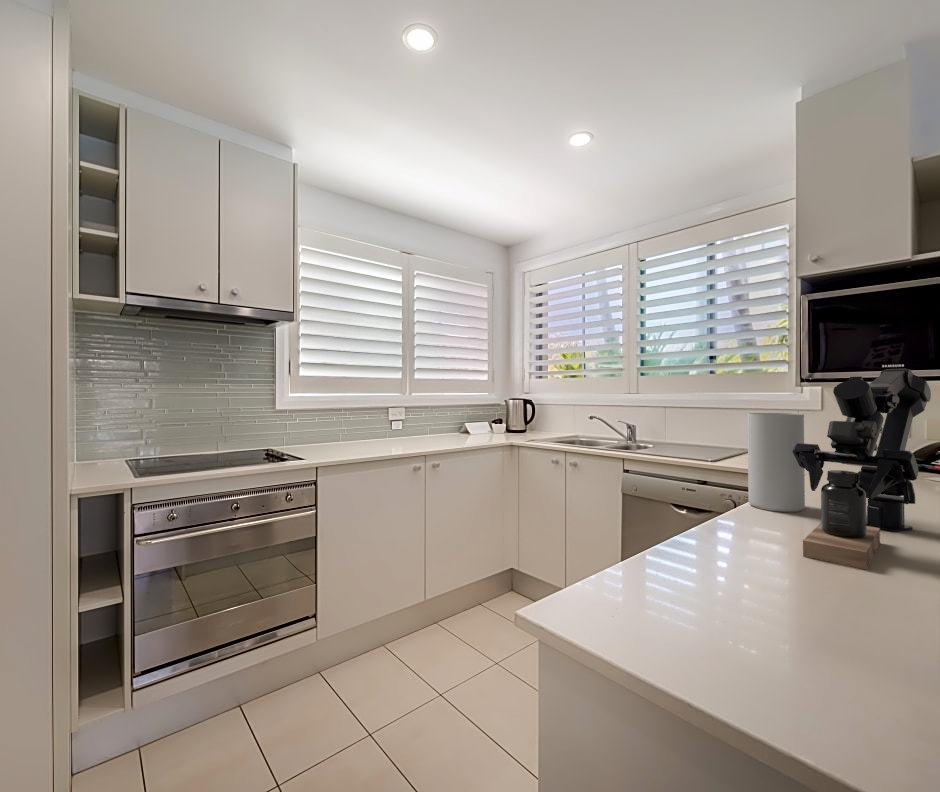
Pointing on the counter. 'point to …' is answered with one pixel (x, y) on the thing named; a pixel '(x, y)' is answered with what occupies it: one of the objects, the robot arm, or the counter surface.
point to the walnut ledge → (842, 547)
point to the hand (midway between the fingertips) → (839, 493)
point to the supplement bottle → (843, 505)
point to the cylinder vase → (775, 462)
